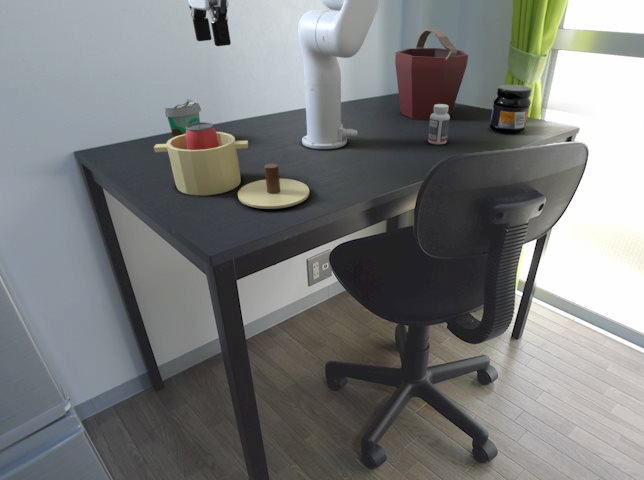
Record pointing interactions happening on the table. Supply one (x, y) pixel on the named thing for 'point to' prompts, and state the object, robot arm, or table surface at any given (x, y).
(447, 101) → the bucket
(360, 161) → the table surface
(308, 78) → the robot arm
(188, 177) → the pot
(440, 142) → the pill bottle
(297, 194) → the lid
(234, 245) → the table surface
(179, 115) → the food container
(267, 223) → the table surface
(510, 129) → the supplement container
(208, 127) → the beer can
